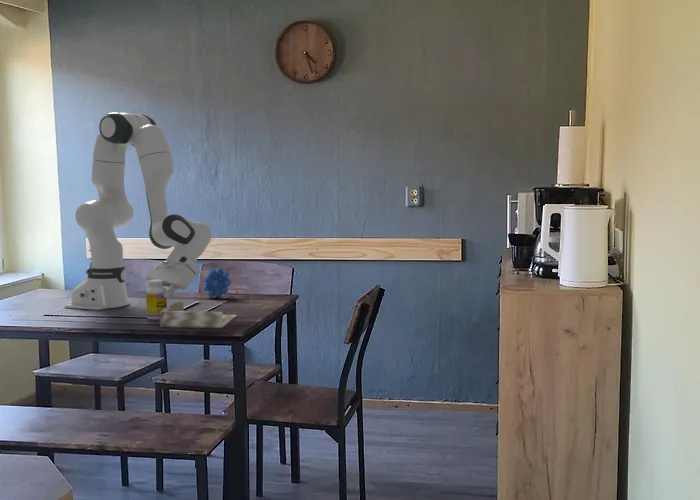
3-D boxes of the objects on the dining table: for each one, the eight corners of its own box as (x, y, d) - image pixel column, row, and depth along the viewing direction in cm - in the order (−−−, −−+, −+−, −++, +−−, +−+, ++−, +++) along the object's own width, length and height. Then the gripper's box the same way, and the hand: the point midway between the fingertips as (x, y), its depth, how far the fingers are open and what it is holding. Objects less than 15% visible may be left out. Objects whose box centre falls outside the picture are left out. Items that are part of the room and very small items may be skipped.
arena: (160, 327, 231) (159, 311, 230) (179, 315, 248) (179, 300, 248) (221, 328, 228) (220, 312, 228) (236, 316, 246) (236, 301, 245)
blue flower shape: (236, 296, 282) (235, 266, 280) (228, 300, 275) (227, 268, 274) (209, 295, 285) (208, 265, 284) (201, 298, 279) (200, 267, 277)
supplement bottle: (156, 321, 239) (155, 282, 238) (142, 318, 243) (141, 281, 241) (171, 317, 245) (170, 279, 244) (157, 315, 249) (156, 278, 247)
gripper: (156, 255, 254) (132, 286, 248) (191, 259, 241) (167, 293, 234) (167, 266, 258) (144, 297, 252) (203, 271, 244) (179, 304, 238)
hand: (156, 295), depth 243 cm, fingers open, 8 cm apart
